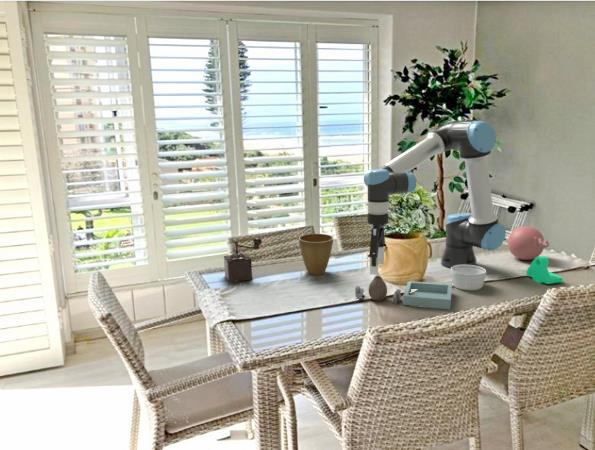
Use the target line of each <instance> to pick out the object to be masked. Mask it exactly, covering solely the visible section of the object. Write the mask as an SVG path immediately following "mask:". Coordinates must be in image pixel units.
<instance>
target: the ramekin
mask: <svg viewBox="0 0 595 450" xmlns="http://www.w3.org/2000/svg"><path fill="white" fill-rule="evenodd" d="M450 273H451V283H452V286H454V287H455V288H456V289H460V290H462V291H463V290H464V291H478V290H481V289H482V288H483V286H484V285H485V280H486V279H485V278H486V275H487V270H486V269H485V268H484V267H481V266H478V265H476V266H475V265H456V266H453V267H451V268H450Z"/></svg>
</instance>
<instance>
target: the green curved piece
mask: <svg viewBox="0 0 595 450" xmlns="http://www.w3.org/2000/svg"><path fill="white" fill-rule="evenodd" d="M532 260H533V261H531V263H530V265H529V266H528V268H527V269H526V271H525V272H526V273H525V275H526V276H528V277H531V278H532V279H531V280H532V281H534V282H537V283H538V284H547V285H548V284H557V283H562V282H563V279H564V278H563V277H562V276H560V275H558V274H555V273H553V272H551V271H549V270H548V266H549V264H550V262H549V258H548V257H547V256H543V255H542V256H538V257H536V258H534V259H532Z"/></svg>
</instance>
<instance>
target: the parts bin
mask: <svg viewBox="0 0 595 450" xmlns="http://www.w3.org/2000/svg"><path fill="white" fill-rule="evenodd" d="M411 289H418V291H416V292H412V293H410V292H411ZM452 294H453V283H452V284H451V283H440V282H439V283H438V282H425V281H424V282H422V281H410V280H409V281H407V284H406V286H405V289H404V292H403V295H402V306H404V305H412V306H411V307H416V306H422V307H421V308H427V307H431V308H430V309H441V310H451V303H452Z"/></svg>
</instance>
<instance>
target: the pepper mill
mask: <svg viewBox="0 0 595 450" xmlns="http://www.w3.org/2000/svg"><path fill="white" fill-rule="evenodd" d="M252 242H253V246H250V245H240V244H238V243H239V242H238V240H235V241H234V243H235V244H234V246H235V252H234V253H231V254H230V255H224V256H223V265H224V267H223V268H224V277H225V279H226V278H227V279H226V281H227V280H228V281H229V282H234V283H237V282H236V281H242V282H246V281H245V280H247V281H251V279H252V280H253V272H252V271H253V267H252V258H251V257H250V256H249V255H248V254H247V253H242V252H239V248H245V249H252V250H259V249H260V245H261V244H262V242H263V241H262V239H261V237H254V238H253V239H252ZM228 281H227V282H228ZM229 282H228V283H229Z"/></svg>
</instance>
